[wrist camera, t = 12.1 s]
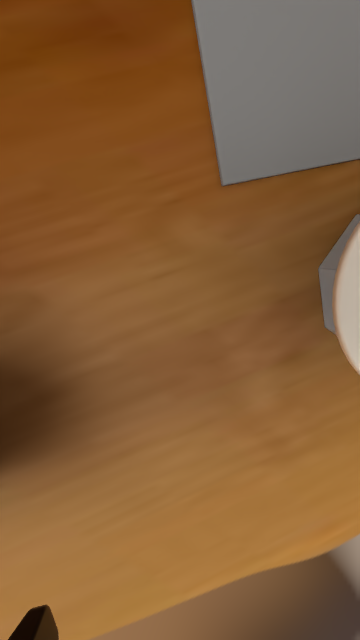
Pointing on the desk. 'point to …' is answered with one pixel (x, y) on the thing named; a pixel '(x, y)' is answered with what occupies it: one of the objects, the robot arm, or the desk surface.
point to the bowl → (333, 273)
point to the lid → (348, 300)
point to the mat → (280, 83)
